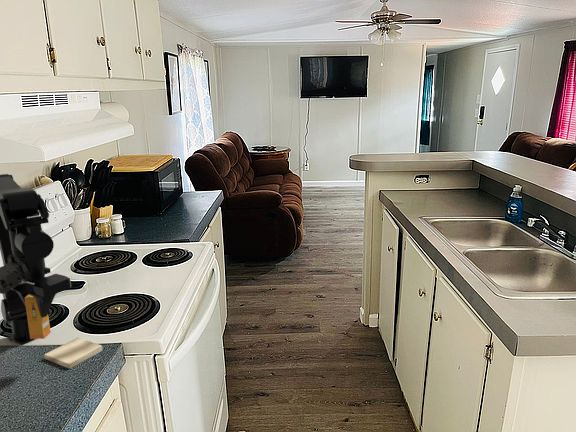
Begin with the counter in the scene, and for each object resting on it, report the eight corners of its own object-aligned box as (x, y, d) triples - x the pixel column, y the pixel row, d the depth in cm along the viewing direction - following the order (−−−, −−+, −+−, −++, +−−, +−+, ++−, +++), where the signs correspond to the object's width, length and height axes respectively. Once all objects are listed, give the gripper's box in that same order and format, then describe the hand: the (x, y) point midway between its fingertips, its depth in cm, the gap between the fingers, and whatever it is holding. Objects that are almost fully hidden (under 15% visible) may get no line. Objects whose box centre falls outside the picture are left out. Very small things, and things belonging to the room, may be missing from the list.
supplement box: (52, 331, 102) (46, 291, 100) (44, 339, 99) (38, 298, 97) (37, 331, 102) (31, 291, 100) (29, 339, 99) (22, 298, 97)
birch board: (45, 358, 105) (44, 354, 105) (78, 341, 113) (77, 337, 113) (69, 368, 101) (69, 364, 101) (102, 350, 109) (102, 345, 109)
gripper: (-37, 252, 93) (-24, 320, 97) (15, 267, 85) (27, 341, 88) (16, 238, 103) (26, 301, 107) (67, 250, 94) (77, 318, 98)
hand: (38, 314), depth 100 cm, fingers closed on supplement box, 4 cm apart
